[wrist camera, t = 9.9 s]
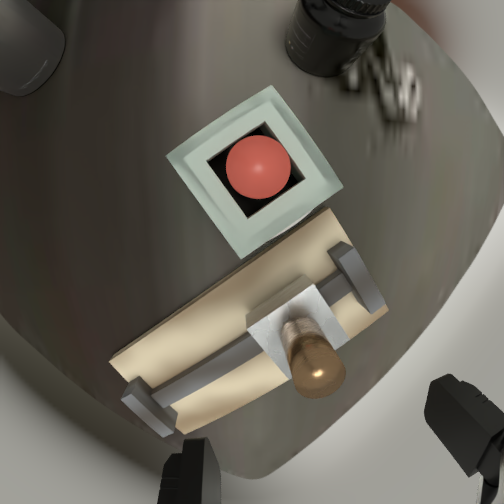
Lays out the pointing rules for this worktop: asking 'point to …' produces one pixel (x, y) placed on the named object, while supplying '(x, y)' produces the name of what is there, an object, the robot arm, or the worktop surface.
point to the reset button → (258, 167)
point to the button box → (281, 208)
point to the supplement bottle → (333, 33)
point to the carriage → (301, 338)
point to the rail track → (240, 329)
